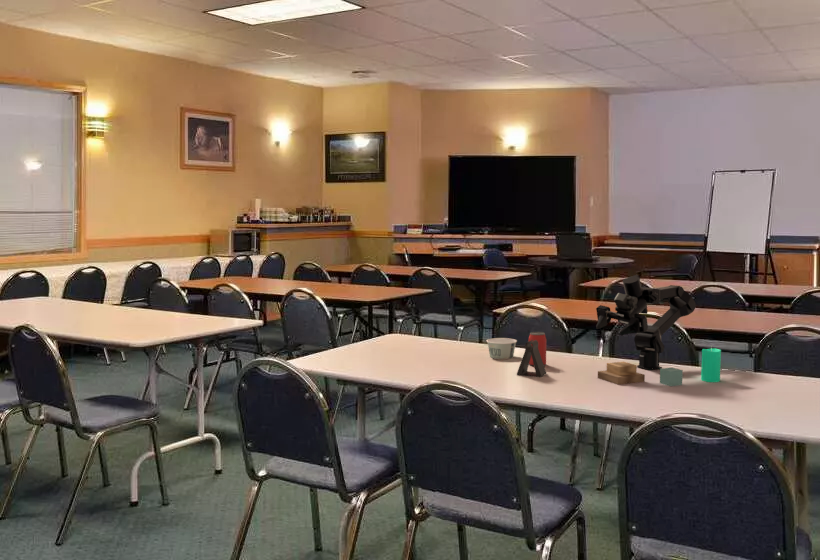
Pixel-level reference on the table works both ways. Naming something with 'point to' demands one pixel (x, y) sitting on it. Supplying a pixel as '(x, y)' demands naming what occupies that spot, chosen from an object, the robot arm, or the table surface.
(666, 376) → the teal cube
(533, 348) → the dark grey a-shaped piece
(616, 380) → the tower base block
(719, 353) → the candle
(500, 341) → the food container
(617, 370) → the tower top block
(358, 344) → the table surface
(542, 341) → the beer can
